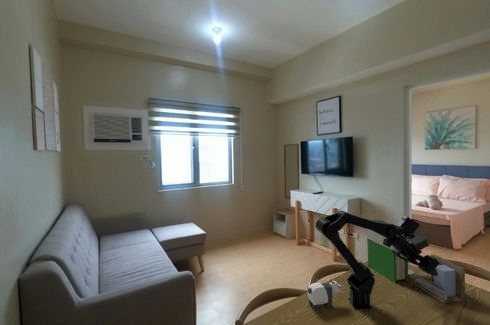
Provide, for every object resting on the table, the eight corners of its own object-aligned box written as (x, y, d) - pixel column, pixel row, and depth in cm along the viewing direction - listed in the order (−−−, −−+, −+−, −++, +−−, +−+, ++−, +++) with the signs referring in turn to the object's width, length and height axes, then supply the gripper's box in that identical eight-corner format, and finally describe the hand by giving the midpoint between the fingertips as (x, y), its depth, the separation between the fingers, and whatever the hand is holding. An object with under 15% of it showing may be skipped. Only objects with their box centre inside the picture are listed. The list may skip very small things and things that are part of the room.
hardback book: (408, 280, 114) (407, 229, 113) (394, 282, 112) (393, 231, 112) (380, 264, 131) (379, 220, 130) (368, 266, 130) (366, 221, 129)
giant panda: (312, 311, 94) (311, 287, 94) (305, 303, 100) (304, 280, 99) (346, 305, 97) (345, 282, 97) (338, 298, 103) (337, 275, 102)
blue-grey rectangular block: (444, 296, 99) (444, 271, 98) (433, 290, 104) (433, 265, 103) (455, 295, 99) (455, 270, 99) (444, 289, 104) (444, 264, 104)
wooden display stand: (442, 302, 97) (442, 270, 96) (414, 284, 110) (414, 256, 110) (465, 300, 97) (464, 268, 97) (434, 282, 111) (434, 254, 111)
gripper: (434, 237, 90) (461, 264, 92) (397, 223, 109) (421, 246, 110) (415, 260, 90) (442, 287, 91) (381, 242, 108) (405, 265, 110)
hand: (427, 269), depth 100 cm, fingers open, 9 cm apart
